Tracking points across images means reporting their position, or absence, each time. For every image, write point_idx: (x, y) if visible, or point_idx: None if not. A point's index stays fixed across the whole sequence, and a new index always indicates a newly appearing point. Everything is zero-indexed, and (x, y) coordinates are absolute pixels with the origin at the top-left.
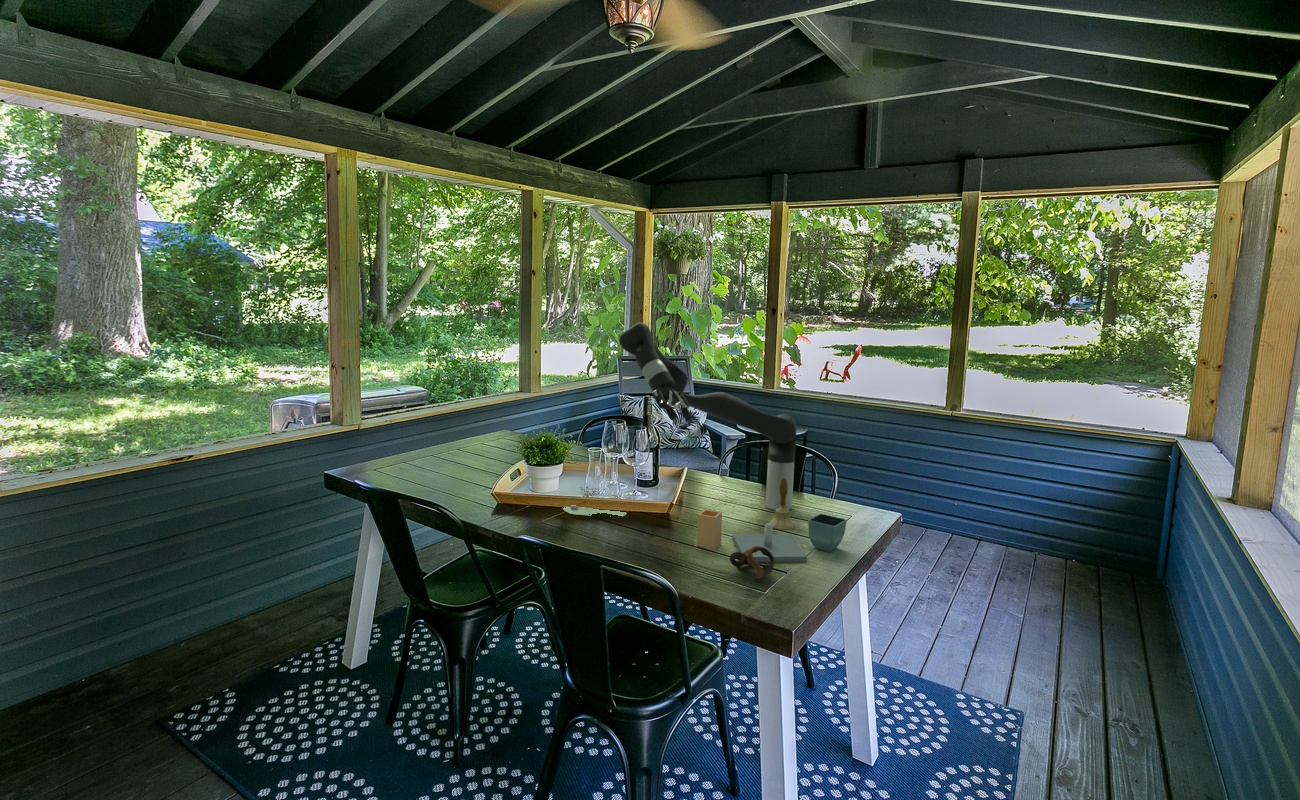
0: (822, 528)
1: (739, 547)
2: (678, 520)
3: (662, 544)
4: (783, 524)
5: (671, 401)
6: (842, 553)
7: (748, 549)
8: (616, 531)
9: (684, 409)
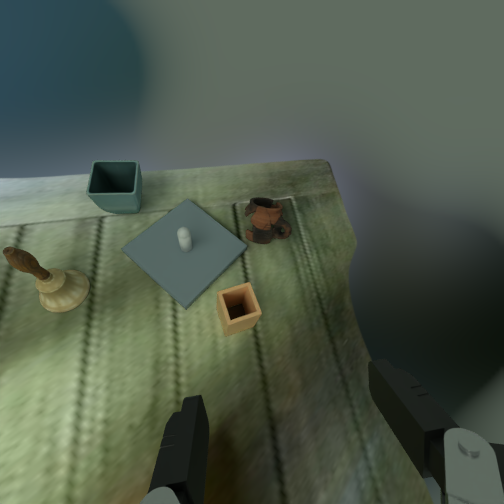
0: (138, 180)
1: (224, 268)
2: None
3: (289, 372)
4: (78, 277)
5: (447, 494)
6: None
7: (267, 219)
8: (319, 500)
9: (192, 495)
